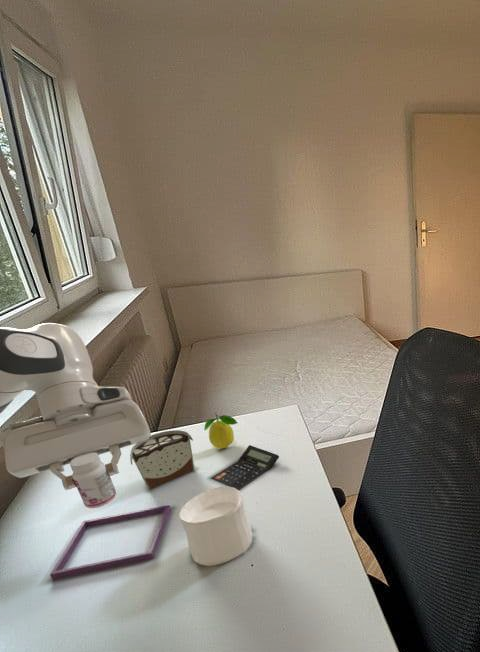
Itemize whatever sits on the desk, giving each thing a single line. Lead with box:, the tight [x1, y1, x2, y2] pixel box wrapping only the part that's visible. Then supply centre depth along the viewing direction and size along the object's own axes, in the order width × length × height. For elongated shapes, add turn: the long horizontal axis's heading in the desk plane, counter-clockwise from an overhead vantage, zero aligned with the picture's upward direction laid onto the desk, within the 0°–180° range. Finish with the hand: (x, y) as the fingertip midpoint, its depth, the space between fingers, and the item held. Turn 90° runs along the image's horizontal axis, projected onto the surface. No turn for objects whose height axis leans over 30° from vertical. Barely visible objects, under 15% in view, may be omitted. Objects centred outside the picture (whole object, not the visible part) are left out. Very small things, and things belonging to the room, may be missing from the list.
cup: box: [178, 486, 253, 567], centre depth 75 cm, size 10×10×10 cm
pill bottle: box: [69, 453, 117, 509], centre depth 74 cm, size 5×5×8 cm
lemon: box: [204, 412, 238, 449], centre depth 107 cm, size 7×6×10 cm
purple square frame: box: [49, 504, 172, 581], centre depth 79 cm, size 15×13×2 cm
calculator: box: [210, 444, 280, 491], centre depth 98 cm, size 9×12×3 cm
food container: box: [129, 429, 196, 491], centre depth 96 cm, size 12×6×10 cm, turn 135°
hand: (92, 480), depth 74 cm, fingers closed on pill bottle, 5 cm apart
